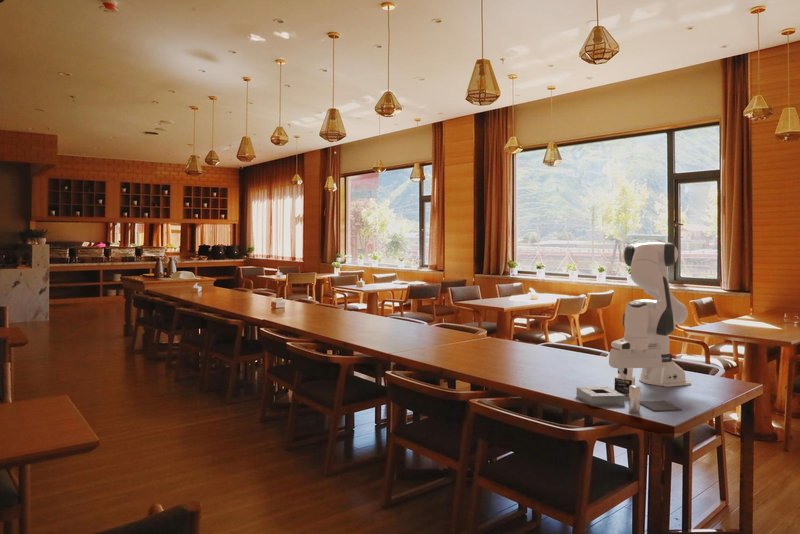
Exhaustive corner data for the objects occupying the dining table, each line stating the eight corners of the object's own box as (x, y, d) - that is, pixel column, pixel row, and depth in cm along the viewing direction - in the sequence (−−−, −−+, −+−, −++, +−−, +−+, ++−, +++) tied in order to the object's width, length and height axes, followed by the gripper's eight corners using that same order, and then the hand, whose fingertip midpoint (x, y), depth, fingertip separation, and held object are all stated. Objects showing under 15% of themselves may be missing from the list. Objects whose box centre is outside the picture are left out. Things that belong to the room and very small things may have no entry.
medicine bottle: (614, 393, 242) (614, 366, 242) (617, 389, 248) (618, 363, 248) (631, 396, 238) (632, 368, 238) (634, 392, 244) (635, 365, 244)
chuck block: (607, 395, 238) (607, 386, 238) (624, 405, 224) (624, 395, 224) (576, 396, 236) (576, 387, 236) (591, 406, 223) (592, 396, 222)
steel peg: (636, 410, 217) (637, 385, 217) (642, 413, 213) (642, 387, 213) (626, 410, 217) (627, 385, 217) (632, 413, 213) (632, 388, 213)
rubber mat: (664, 401, 230) (664, 400, 230) (682, 410, 218) (682, 409, 218) (636, 402, 228) (636, 401, 228) (653, 411, 216) (653, 409, 216)
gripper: (656, 342, 218) (655, 377, 219) (607, 342, 216) (606, 377, 216) (666, 344, 212) (664, 380, 213) (615, 345, 210) (614, 381, 210)
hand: (634, 379), depth 214 cm, fingers open, 8 cm apart
